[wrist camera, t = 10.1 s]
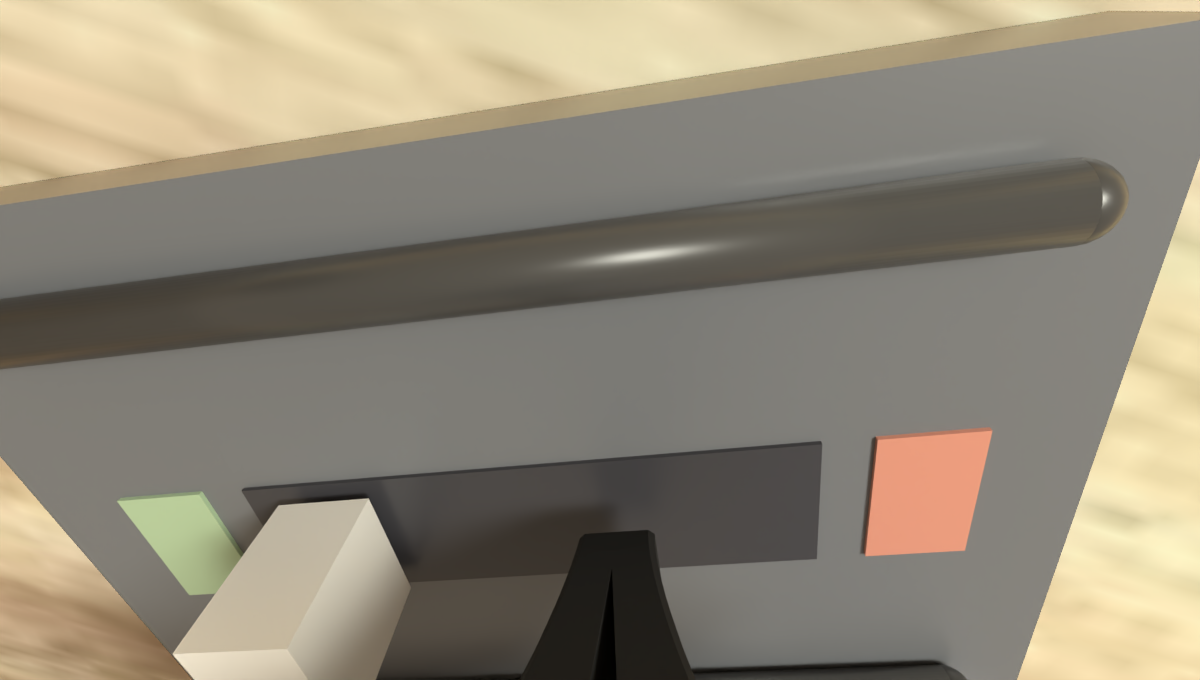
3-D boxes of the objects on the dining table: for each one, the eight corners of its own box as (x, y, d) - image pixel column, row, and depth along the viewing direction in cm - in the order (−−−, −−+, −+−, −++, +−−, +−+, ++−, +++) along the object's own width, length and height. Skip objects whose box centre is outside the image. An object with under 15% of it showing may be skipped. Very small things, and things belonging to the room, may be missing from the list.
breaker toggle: (411, 587, 13) (351, 742, 10) (329, 592, 13) (249, 744, 11) (369, 498, 12) (287, 648, 9) (278, 505, 12) (172, 654, 9)
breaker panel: (959, 621, 17) (1033, 762, 14) (279, 651, 20) (211, 775, 17) (1109, 10, 9) (1353, 13, 6) (-43, 193, 12) (-288, 261, 9)
